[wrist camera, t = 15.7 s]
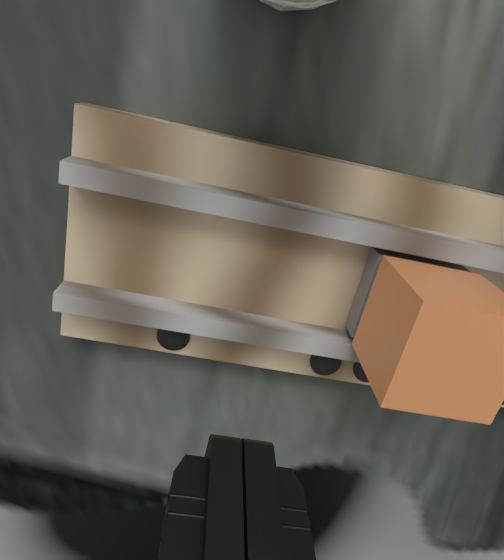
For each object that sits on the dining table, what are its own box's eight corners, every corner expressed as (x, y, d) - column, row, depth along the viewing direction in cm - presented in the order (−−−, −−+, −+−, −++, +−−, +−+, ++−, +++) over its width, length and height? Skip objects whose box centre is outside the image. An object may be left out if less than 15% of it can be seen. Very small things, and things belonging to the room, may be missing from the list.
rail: (69, 321, 26) (50, 349, 23) (84, 102, 21) (62, 104, 19) (568, 405, 30) (602, 437, 27) (672, 233, 25) (726, 251, 22)
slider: (344, 328, 25) (380, 407, 19) (373, 243, 23) (423, 301, 17) (429, 343, 25) (490, 424, 19) (463, 261, 24) (544, 324, 17)
